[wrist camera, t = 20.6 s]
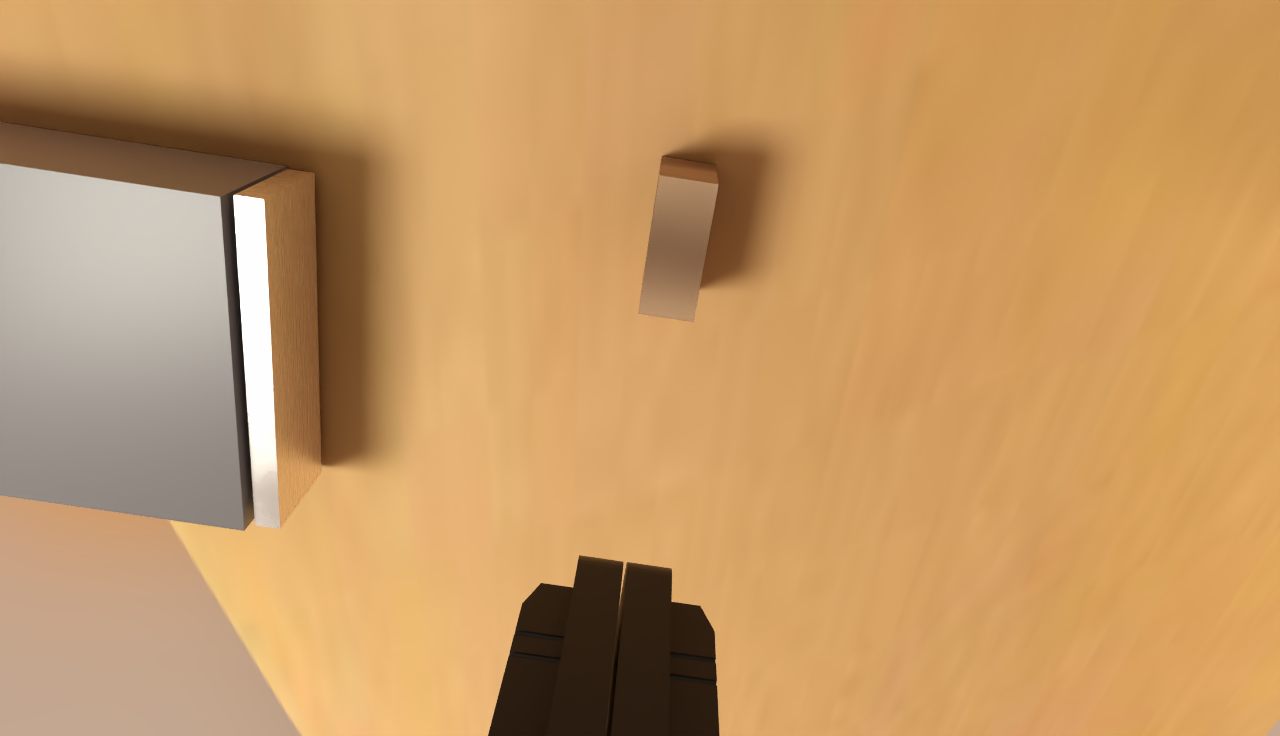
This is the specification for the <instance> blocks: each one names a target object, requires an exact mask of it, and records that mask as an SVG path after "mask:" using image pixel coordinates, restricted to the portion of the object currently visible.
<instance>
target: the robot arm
mask: <svg viewBox="0 0 1280 736" xmlns="http://www.w3.org/2000/svg"><path fill="white" fill-rule="evenodd" d="M622 572H623V562H621V561H614V560H607V559H601V558H594V557H587V556H580V555H579V559H578V565H577V570H576V576H575V581H574V587H573V588H572V587H565V586H558V585H551V584H544V583H541V584H540V585H539V586H538V587H537V588H536V589H535V590H534V592H533V593H532V594H531V595H530V596H529V597H528V598H527V599H526V600H525V601H524V602H523V603H522V607H521V611H520V615H519V618H518V622H517V626H516V631H515V635H514V638H513V642H512V645H511V649H510V655H509V657H508V661H507V665H506V669H505V673H504V676H503V680H502V684H501V688H500V692H499V696H498V700H497V703H496V707H495V711H494V715H493V719H492V723H491V727H490V730H489V734H488V736H719V718H718V697H717V686H716V681H717V676H716V663H715V659H716V654H715V633H714V630H713V628H712V626H711V624H710V623H709V621H708V619H707V617H706V615H705V614H704V612H703V610H702V608H701V606H697V605H690V604H683V603H676V602H671V593H672V570H671V569H670V568H664V567H657V566H650V565H643V564H636V563H629V562H627V565H626V570H625V575H624V581H623V587H622V593H621V599H620V591H621V582H622ZM619 601H620V605H619Z"/></svg>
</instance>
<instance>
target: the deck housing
mask: <svg viewBox="0 0 1280 736" xmlns="http://www.w3.org/2000/svg"><path fill="white" fill-rule="evenodd" d="M285 170H287V168H286V166H285V165H278V164H272V163H265V162H259V161H252V160H246V159H239V158H233V157H226V156H220V155H213V154H207V153H200V152H193V151H187V150H180V149H174V148H167V147H161V146H154V145H148V144H141V143H135V142H128V141H122V140H115V139H109V138H102V137H96V136H89V135H83V134H76V133H70V132H63V131H57V130H50V129H43V128H37V127H30V126H24V125H17V124H11V123H4V122H0V495H3V496H9V497H16V498H23V499H30V500H37V501H44V502H50V503H58V504H64V505H71V506H78V507H85V508H92V509H99V510H106V511H112V512H120V513H126V514H133V515H140V516H147V517H154V518H160V519H167V520H174V521H181V522H188V523H195V524H202V525H208V526H215V527H222V528H229V529H236V530H243V531H244V530H245V529H246V528H247V526H248V525H249V524H250V523H251V521H252V520H253V519H254V503H253V487H252V472H251V456H250V449H249V434H248V418H247V403H246V388H245V372H244V357H243V342H242V326H241V311H240V296H239V280H238V265H237V250H236V234H235V210H234V194H237V193H239V192H241V191H243V190H245V189H247V188H249V187H251V186H253V185H255V184H257V183H259V182H262V181H264V180H266V179H268V178H270V177H272V176H274V175H276V174H278V173H280V172H282V171H285Z"/></svg>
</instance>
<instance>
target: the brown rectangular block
mask: <svg viewBox="0 0 1280 736" xmlns="http://www.w3.org/2000/svg"><path fill="white" fill-rule="evenodd" d="M718 186H719V182H718V177H717V171H716V165H715V164H709V163H703V162H697V161H690V160H684V159H677V158H671V157H664V156H662V159H661V165H660V172H659V178H658V185H657V192H656V198H655V205H654V211H653V218H652V224H651V231H650V237H649V244H648V250H647V257H646V264H645V270H644V277H643V283H642V291H641V298H640V305H639V313H638V314H643V315H649V316H656V317H662V318H669V319H676V320H682V321H689V322H694V317H695V311H696V306H697V301H698V295H699V290H700V284H701V279H702V273H703V268H704V263H705V257H706V252H707V246H708V241H709V235H710V230H711V224H712V219H713V214H714V208H715V203H716V197H717V192H718Z"/></svg>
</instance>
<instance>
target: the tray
mask: <svg viewBox="0 0 1280 736" xmlns="http://www.w3.org/2000/svg"><path fill="white" fill-rule="evenodd" d="M234 210H235V234H236V250H237V265H238V280H239V296H240V311H241V326H242V342H243V357H244V372H245V388H246V403H247V418H248V434H249V449H250V456H251V472H252V487H253V503H254V518H255V525H257V526H263V527H270V528H277V529H280V528H281V527H282V526H283V524H284V523H285V522H286V520H287V519H288V517H289V516H290V515H291V513H292V512H293V511H294V509H295V508H296V507H297V505H298V504H299V503H300V501H301V500H302V498H303V497H304V496H305V494H306V493H307V492H308V490H309V489H310V488H311V486H312V485H313V483H314V482H315V481H316V479H317V478H318V477H319V475H320V474H321V438H320V394H319V351H318V307H317V264H316V221H315V177H314V173H311V172H304V171H298V170H291V169H287V170H285V171H282V172H280V173H278V174H276V175H274V176H272V177H270V178H268V179H266V180H264V181H262V182H259V183H257V184H255V185H253V186H251V187H249V188H247V189H245V190H243V191H241V192H239V193H237V194H234Z"/></svg>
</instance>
